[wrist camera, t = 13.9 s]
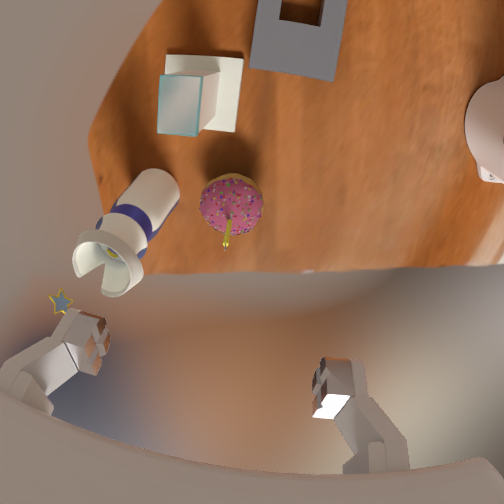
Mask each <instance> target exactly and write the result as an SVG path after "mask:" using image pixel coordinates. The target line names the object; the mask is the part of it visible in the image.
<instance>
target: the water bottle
mask: <svg viewBox="0 0 504 504" xmlns="http://www.w3.org/2000/svg"><path fill="white" fill-rule="evenodd" d="M179 198H180V191H179V187H178V184H177V182H176V181H175V179H174V178H173V177H172V176H171V175H170V174H169V173H167V172H165V171H163V170H161V169H155V168H151V169H147V170H144V171H142V172H141V173H140V174H139V175H138V176H137V177H136V178H135V179H134V181H133V182H132V183H131V184H130V185H129V187H128V188H127V189H126V190H125V191H124V192H123V193H122V194H121V196H120V197H119V198H118V199H117V200H116V202H115V203H114V204H113V206H112V208H111V211H110V213H109V214H106V215H104V216H103V217H101V218H100V220H99V221H98V222H97V225H96V229H89V230H85V231H83V232H82V233H80V235H79V237H78V241H77V244H76V247H75V250H74V252H73V256H72V263H73V267H74V270H75V273H76V275H77V276H78V277H79V278H80V277H81V276H83V275H85V274H86V273H88V272H89V271H91V270H92V269H94V268H96V267H97V266H99V265H101V264H103V263H105V270H104V277H103V282H102V287H101V293H102V294H104V295H105V296H109V297H117V296H121V295H123V294H124V293H125V292H126V291H128V290H129V289H130V288H132V287H133V286H134V285H136V284H137V283H138V282H140V280H141V279H142V277H143V268H142V264H141V262H140V259H141V258H142V257H143V256H144V254H145V253H146V250H147V243H148V242H149V241H150V240H151V239H153V238H154V237H155V235H156V234H157V233H158V231H159V230H160V228H161V227H162V225H163V223H164V222H165V220H166V219H167V217H168V216H169V215H170V213H171V212H172V211H173V209H174V208H175V207H176V205H177V204H178V201H179ZM49 297H50V299H51V300H52V301H53V302H54V304H55V306H54V307H55V308H54V314H56V313H58V312H60V311H62V312H63V313H66V312H67V310H69V308H68V305H69V304H71V303H72V302H73V300H71V299H69V298H67V297H66V296H65V294H64V292H63V290H62V288H61V289H60V290H59V293H58V296H54V295H49Z"/></svg>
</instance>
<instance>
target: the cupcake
mask: <svg viewBox="0 0 504 504" xmlns="http://www.w3.org/2000/svg"><path fill="white" fill-rule="evenodd" d="M200 200H201V201H200V208H199V209H200V210H201V213H202V215H203V217H204V218H205V220H206V221H207V223H208V225H210V226H212V227H213V228H214V229H215V230H217V231H220V232H222V233H223V234H225V236H224V241H223V245H224V246H225V247H224V250H225V251H226V246H228V244H229V238H230V234H232V235H237V234H238V235H239V234H242V233H244V234H246V232H247V231H249V230H252V228H254V226H255V224H256V223H257V222H258V220H259V219H260V217H261V215H262V212H263V209H264V203H263V197H262V192H261V190H260V189H259V188H258V186H257V185H256V184H255V183H254V181H253V180H252V179H250V178H248V177H245V176H243V175H240V174H237V173H230V174H225V175H222V176H220V177H218V178H216V179H212V180H210V181H209V182H208V183H207V184H206V185H205V187H204V188H203V191H202V195H201V199H200Z"/></svg>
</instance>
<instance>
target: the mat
mask: <svg viewBox="0 0 504 504" xmlns="http://www.w3.org/2000/svg"><path fill="white" fill-rule="evenodd" d="M243 65H244V59H239V58H229V57H216V56H200V55H166V64H165V74H170V73H175V72H180V71H185V70H206V71H219V72H220V81H219V90H218V99H217V108H216V116H215V117H214V118H213V119H212V120H211V121H210V122H209V123H208V124H207V125H206V126H205V127H204V128H203V129H209V130H218V131H227V132H235V129H236V120H237V112H238V104H239V96H240V88H241V80H242V72H243Z"/></svg>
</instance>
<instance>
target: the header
mask: <svg viewBox="0 0 504 504" xmlns="http://www.w3.org/2000/svg"><path fill="white" fill-rule="evenodd" d="M347 1H348V0H322V1H321V8H320V14H319V20H318V26H313V25H308V24H303V23H297V22H291V21H284V20H279V18H280V11H281V5H282V0H258V7H257V14H256V20H255V27H254V34H253V41H252V48H251V55H250V62H249V68H253V69H261V70H268V71H275V72H282V73H288V74H294V75H300V76H305V77H310V78H315V79H320V80H325V81H330V82H334V76H335V71H336V66H337V60H338V55H339V49H340V43H341V37H342V32H343V26H344V20H345V13H346V7H347Z"/></svg>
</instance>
